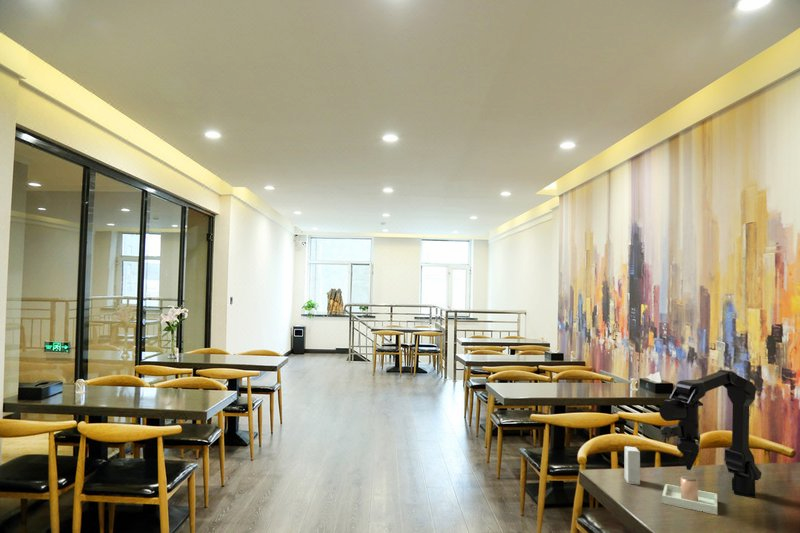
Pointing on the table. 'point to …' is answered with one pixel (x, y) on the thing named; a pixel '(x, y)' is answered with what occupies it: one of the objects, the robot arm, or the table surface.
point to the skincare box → (632, 465)
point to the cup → (689, 488)
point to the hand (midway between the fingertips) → (689, 466)
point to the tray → (705, 500)
